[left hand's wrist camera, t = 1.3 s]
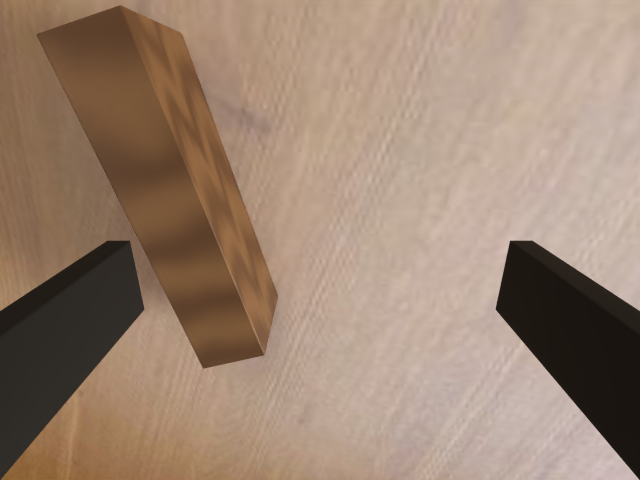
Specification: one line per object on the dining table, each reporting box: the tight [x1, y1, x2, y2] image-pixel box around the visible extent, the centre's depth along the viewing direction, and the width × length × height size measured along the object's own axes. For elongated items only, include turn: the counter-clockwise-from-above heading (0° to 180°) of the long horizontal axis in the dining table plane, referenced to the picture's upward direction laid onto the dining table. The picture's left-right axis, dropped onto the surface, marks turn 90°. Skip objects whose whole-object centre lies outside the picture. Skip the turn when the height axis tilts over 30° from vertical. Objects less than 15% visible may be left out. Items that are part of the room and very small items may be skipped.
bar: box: [37, 6, 278, 368], centre depth 27 cm, size 24×5×9 cm, turn 15°
